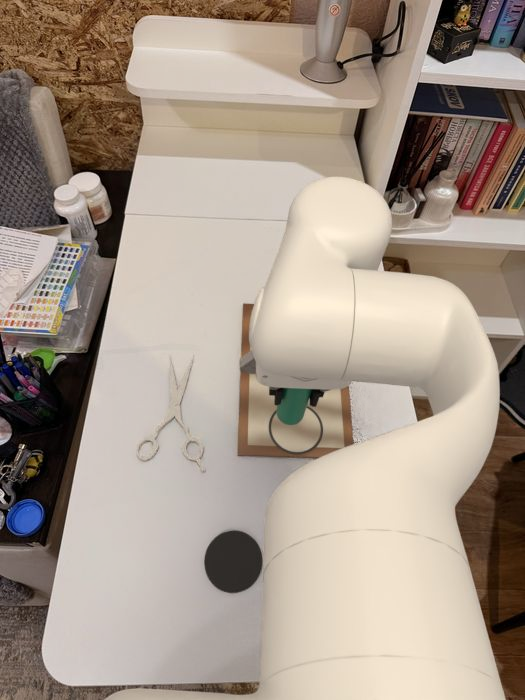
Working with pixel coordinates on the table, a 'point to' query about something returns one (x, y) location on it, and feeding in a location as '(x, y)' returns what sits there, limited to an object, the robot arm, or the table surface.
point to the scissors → (175, 412)
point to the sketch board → (278, 438)
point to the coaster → (233, 561)
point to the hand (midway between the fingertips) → (295, 394)
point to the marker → (293, 405)
